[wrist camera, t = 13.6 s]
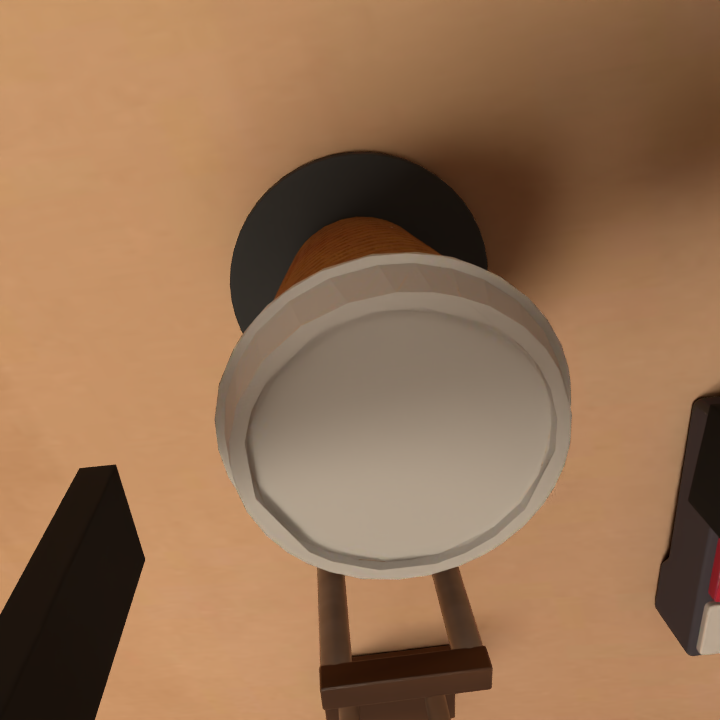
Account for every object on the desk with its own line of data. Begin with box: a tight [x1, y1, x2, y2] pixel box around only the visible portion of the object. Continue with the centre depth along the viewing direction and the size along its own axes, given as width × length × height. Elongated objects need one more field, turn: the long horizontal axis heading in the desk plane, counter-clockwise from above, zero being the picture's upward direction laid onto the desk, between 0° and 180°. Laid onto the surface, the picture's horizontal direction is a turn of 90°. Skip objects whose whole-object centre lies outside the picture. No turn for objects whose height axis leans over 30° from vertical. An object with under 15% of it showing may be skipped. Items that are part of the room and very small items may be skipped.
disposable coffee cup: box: [215, 217, 572, 579], centre depth 20 cm, size 10×10×12 cm
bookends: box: [317, 567, 493, 720], centre depth 29 cm, size 22×8×11 cm, turn 4°
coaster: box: [230, 152, 487, 333], centre depth 26 cm, size 11×11×1 cm
